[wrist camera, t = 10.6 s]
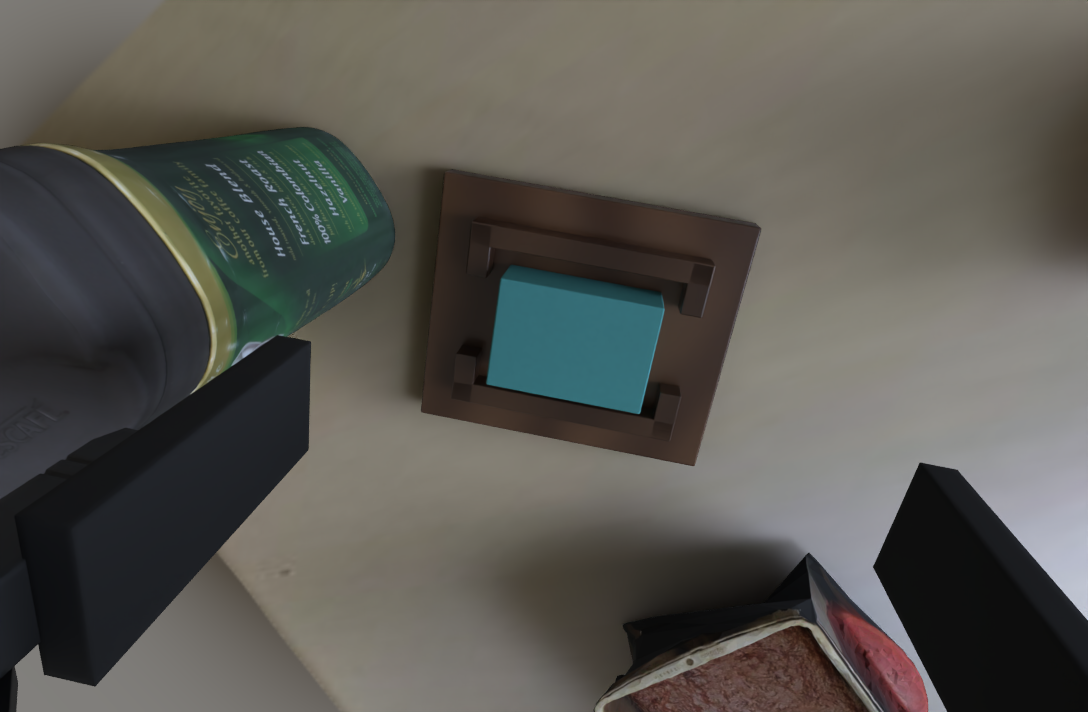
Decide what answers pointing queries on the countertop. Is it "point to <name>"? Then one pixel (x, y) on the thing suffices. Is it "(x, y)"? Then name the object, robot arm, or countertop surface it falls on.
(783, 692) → the rectangular planter
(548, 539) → the countertop surface
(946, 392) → the countertop surface
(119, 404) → the coffee jar
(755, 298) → the countertop surface
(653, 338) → the pad
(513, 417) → the back plate
